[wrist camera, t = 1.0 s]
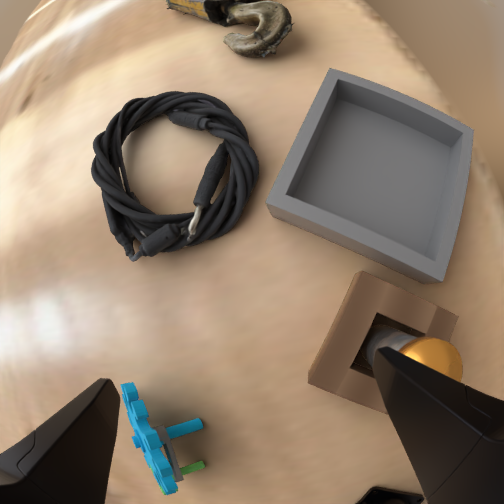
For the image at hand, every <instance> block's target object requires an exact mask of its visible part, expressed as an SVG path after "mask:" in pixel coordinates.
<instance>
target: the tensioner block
mask: <svg viewBox="0 0 504 504" xmlns="http://www.w3.org/2000/svg"><path fill="white" fill-rule="evenodd" d="M376 313H377V314H379V315H381V316H383V317H385V318H388V319H390V320H392V321H394V322H397V323H399V324H401V325H403V326H406V327H408V328H410V329H412V330H411V333H410V335H412V336H414V337H417V338H419V337H435V338H438V339H441V340H444V341H447V342H449V339H450V337H451V334H452V332H453V330H454V327H455V325H456V322H457V319H458V317H459V316H457V315H455V314H453V313H451V312H449V311H447V310H445V309H443V308H441V307H439V306H436V305H434V304H432V303H430V302H428V301H426V300H424V299H422V298H420V297H418V296H416V295H413V294H411V293H409V292H407V291H405V290H403V289H401V288H399V287H396V286H394V285H392V284H390V283H388V282H386V281H384V280H381V279H379V278H377V277H375V276H373V275H370V274H368V273H366V272H364V271H360V272H358V273H356V274H355V276H354V278H353V280H352V283H351V285H350V287H349V289H348V292H347V294H346V296H345V299H344V301H343V303H342V305H341V307H340V309H339V312H338V314H337V316H336V318H335V320H334V322H333V324H332V326H331V329H330V331H329V333H328V335H327V337H326V339H325V341H324V343H323V345H322V347H321V349H320V351H319V353H318V355H317V356H316V358H315V360H314V362H313V364H312V366H311V368H310V370H309V372H308V383H309V384H311V385H314V386H316V387H318V388H321V389H323V390H325V391H328V392H330V393H333V394H335V395H338V396H340V397H343V398H345V399H348V400H350V401H353V402H355V403H358V404H361V405H363V406H366V407H369V408H371V409H374V410H377V411H380V412H383V413H385V414H388V412H387V410H386V408H385V405H384V402H383V399H382V396H381V393H380V391H379V388H378V385H377V382H376V379H375V376H374V374H373V370H371V369H368V368H366V367H363V366H361V365H358V364H356V363H354V362H353V361H354V359H355V357H356V355H357V353H358V351H359V349H360V347H361V345H362V343H363V341H364V339H365V337H366V334H367V332H368V330H369V328H370V326H371V324H372V322H373V319H374V317H375V315H376ZM388 415H389V414H388Z"/></svg>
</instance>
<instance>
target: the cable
mask: <svg viewBox="0 0 504 504" xmlns="http://www.w3.org/2000/svg"><path fill="white" fill-rule="evenodd" d="M162 114H166V115H167V116H168V117H169V120H170V121H172V122H173V123H174V124H177V125H181V126H185V127H189V128H193V129H196V130H201V131H202V130H209V132H210V133H211V134H212V135H214V136H216V137H220V138H223V139H224V141H223V143H222V144H220V145H219V147H218V149H217V150H216V152H215V154H214V156H212V157H211V159H210V161H209V162H208V164H207V166H206V168H205V172H204V175H203V177H202V180H201V182H200V184H199V187H198V190H197V192H196V195H195V198H194V201H193V203H194V205H195V206H197V207H196V209H195V212H191V213H183V214H173V215H171V214H170V215H156V214H155V213H153V212H152V211H150V210H149V209H147V208H146V207H144V206H142V205H141V204H140V202H139V200H138V199H137V198H136V196H135V195H134V193H133V192H131V191H130V188H129V184H128V180H127V175H126V170H125V166H124V162H123V156H122V148H121V147H122V145H123V143H124V141H125V139H126V137H127V136H128V135H129V134H130V133H131V132H132V131H133V130H135V129H136V128H138V127H139V126H140V125H142V124H143V123H145V122H147V121H149V120H151V119H153V118H155V117H157V116H159V115H162ZM93 149H94V151H95V154H96V156H95V158H94V160H93V162H92V167H91V173H92V177H93V179H94V181H95V182H96V184H97V185H98V186H100V187H101V190H102V198H103V202H104V207H105V211H106V215H107V219H108V223H109V227H110V231H111V233H112V234H113V235H114V236H115V238H116V240H117V242H118V243H119V244H121V245H122V246H123V247H124V249H125V251H126V256H129V259H130V260H131V261H133V262H134V261H136V260H138V259H139V258H140V257H141V256H150V257H153V256H154V255H156V254H157V253H159V252H172V251H176V250H179V249H181V248H183V247H185V246H193V245H197V244H199V243H202V242H203V241H205V240H211V239H215V238H218V237H220V236H222V235H224V234H225V233H227V232H228V231H230V230H231V229H232V228H233V227H234V225H235V224H236V223H237V221H238V220H239V218H240V216H241V214H242V211H243V208H244V206H245V205H246V203H247V201H248V199H249V197H250V194H251V191H252V190H253V188H254V186H255V184H256V182H257V179H258V174H259V163H258V159H257V156H256V154H255V152H254V150H253V149H252V148H251V147H250V146H249V139H248V135H247V132H246V129H245V127H244V126H243V124H242V122H241V121H240V120H239V119H238V118H237V117H236V116H235V115H233V113H232V112H231V110H230V109H229V107H228V106H227V105H226V104H225V103H223V102H222V101H221V100H219V99H217V98H215V97H213V96H210V95H207V94H203V93H197V92H188V93H184V92H178V91H171V92H165V93H162V94H159V95H157V96H152V97H148V98H136V99H132V100H130V101H129V102H127V103H126V104H125V105H124V107H123V108H122V110H121V111H120V112H118V113H117V114H116V115H115V116H114V117H113V118H112V120H111V121H110V123H109V124H108V126H107V128H106V131H104V132H102V133H100V134H99V135H98V136H97V137H96V138H95V139H94V142H93ZM229 154H230V157H231V167H230V178H229V181H228V183H227V184H226V186H225V188H224V189H223V190H222V192H221V193H220V195H219V196H218V197H217V199H216V200H215V202H214V203H213V204H211V203H210V201H211V199H212V197H213V195H214V193H215V190H216V188H217V186H218V184H219V181H220V179H221V178H222V176H223V174H224V171H225V168H226V165H227V158H228V155H229ZM119 167H120V169H121V173H122V177H123V181H124V186H125V189H126V192H125V191H124V188H123V184H122V180H121V176H120V171H119ZM135 237H136V238H137V239H138V240H139V241H140V242H141V243H142V244H141V245H140V246H139V250H140V251H138V252H137V253H136V254H135V251H134V248H133V241H134V238H135ZM134 254H135V255H134Z"/></svg>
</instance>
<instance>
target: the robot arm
mask: <svg viewBox="0 0 504 504" xmlns="http://www.w3.org/2000/svg"><path fill="white" fill-rule="evenodd" d="M373 374H374V376H375V379H376V382H377V385H378V388H379V391H380V393H381V396H382V399H383V402H384V405H385V408H386V410H387V412H388V414H389V416H390V418H391V421H392V423H393V425H394V427H395V429H396V431H397V433H398V435H399V438H400V440H401V442H402V444H403V446H404V448H405V451H406V453H407V455H408V457H409V460H410V462H411V464H412V466H413V469H414V471H415V473H416V475H417V478H418V480H419V482H420V485H421V487H422V489H423V492H424V494H425V497H426V499H427V502H428V504H504V401H503V400H500V399H497V398H494V397H492V396H489V395H487V394H484V393H482V392H480V391H478V390H475V389H473V388H471V387H469V386H467V385H466V386H465V384H463V383H461V382H459V381H457V380H455V379H452V378H450V377H448V376H446V375H444V374H442V373H440V372H438V371H436V370H434V369H432V368H430V367H428V366H426V365H424V364H422V363H420V362H418V361H416V360H414V359H412V358H410V357H408V356H406V355H404V354H402V353H400V352H398V351H396V350H394V349H393V348H391V347H388V346H384V347H381V348H377V349H376V351H375V355H374V361H373ZM119 408H120V395H119V393H118V391H117V389H116V388H115V386H114V384H113V382H112V380H111V379H108V378H100V379H98V380H97V381H96V382H94V383H93V384H92V385H91V386H89V387H88V388H87V389H86V390H84V391H83V392H82V393H81V394H79V395H78V396H77V397H76V398H74V399H73V400H72V401H71V402H69V403H68V404H67V405H66V406H64V407H63V408H62V409H60V410H59V411H58V412H57V413H55V414H54V415H53V416H52V417H50V418H49V419H48V420H47V421H45V422H44V423H43V424H42V425H40V426H39V427H38V428H36V430H34V431H33V432H31V433H30V434H29V435H28V436H26V437H25V438H24V439H22V440H21V441H20V442H18V443H17V444H15V445H14V446H12V447H11V448H9V449H7V450H6V451H4V452H3V453H1V454H0V504H105V498H106V491H107V484H108V478H109V473H110V467H111V462H112V456H113V451H114V446H115V441H116V436H117V427H118V417H119ZM373 491H376V492H373ZM418 499H419V500H418ZM423 500H424V497H423V495H419V494H412V493H406V492H400V491H395V490H390V489H385V488H381V487H372V488H371V489H370V490H369V491H368V492H367V493H366V494H365V495H364V496H363V497H362V499H361V500H360V501H359V502H358V503H356V504H421V503H422V502H423Z"/></svg>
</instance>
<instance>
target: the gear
mask: <svg viewBox="0 0 504 504" xmlns="http://www.w3.org/2000/svg"><path fill="white" fill-rule="evenodd" d="M121 388H122V392H123V394H122V396H123V400H124V403H125V406H126V408H127V411H128V412H127V414H128V418H129V421H130V423H131V425H132V427H133V429H134V432H135V436H133V437H132V439H133V442H134V444H135V447H136V448H140V447H141V449H142V451H143V453H144V454H145V456H144V457H145V460H146V462H147V464H148V466H149V468H151V470H152V472H153V474H154V477H155V479H156V480H157V482H158V484H159V486H160V489H161V491H162V492H163V494H164V495H169V494H172V493H175V492H176V491H178V486H177V484H176V483H175V482H179V481H182V480H184V479H183V476H182V475H185V474H188V473H191V472H194V471H197V470H199V469H202V468H205V465H204V463H203V462H202V461H199V462H196V463H194V464H191V465H188V466H185V467H182V468H179V465H178V462H177V459H176V456H175V453H174V450H173V447H172V444H171V441H170V439H172V438H176V437H179V436H182V435H185V434H188V433H191V432H194V431H197V430H200V429H203V424H202V422H201V420H200V419H199V418H197V419H194V420H190V421H187V422H184V423H181V424H177V425H174V426H171V427H167V428H165V427H164V426H163V425H161V426H157V427H154V428H151V427H150V426H149V424H148V421H147V417H149V415H148V412H147V409H146V407H145V404H144V402H143V400H138V399H139V396H138V392H137V389H136V387H135V385H134V383H133V382H132V383H125V384H121ZM162 445H163V446H164V449H165V452H166V455H167V458H168V460H169V462H168V460H167V459H166V458H165V457H164V455H163V453H162V452H161V450H160V448H161V447H162ZM169 463H170V464H169Z"/></svg>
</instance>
